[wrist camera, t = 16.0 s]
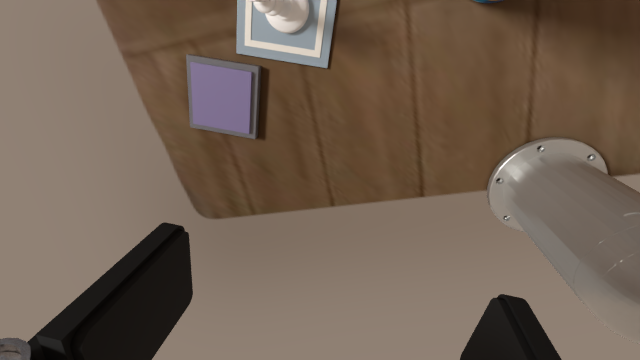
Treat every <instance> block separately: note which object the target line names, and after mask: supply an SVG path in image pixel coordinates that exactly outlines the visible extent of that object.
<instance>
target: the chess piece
mask: <svg viewBox="0 0 640 360" xmlns="http://www.w3.org/2000/svg"><path fill="white" fill-rule="evenodd" d="M249 1H250V2H253V3H254V6H255V7H256V9H257V10H258V11H259V12H261V13H265V15H266V18H267V20H268V22H269V23H270V24H271V25H272V27H274V28H275V29H276V30H278V31H280V32H282V33H294V32H296V31H298V30H299V29H301V28H302V27H303V25H304V24H305V22H306V20H307V18H308V14H309V3H308V0H249Z"/></svg>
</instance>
